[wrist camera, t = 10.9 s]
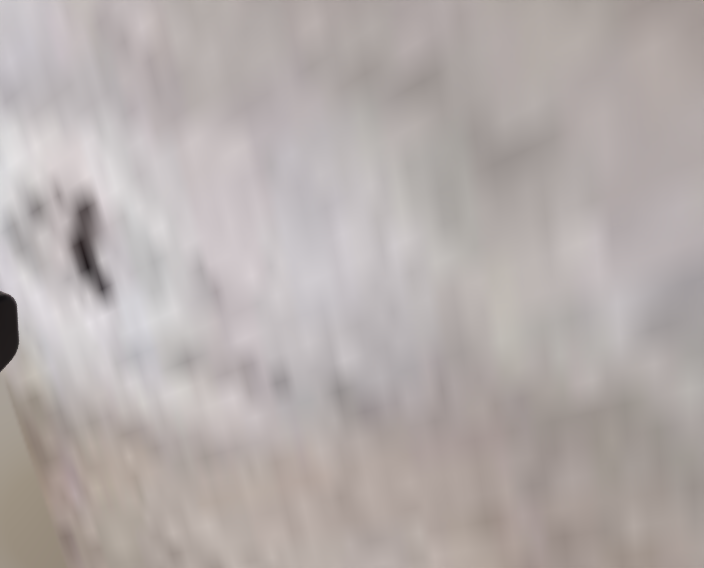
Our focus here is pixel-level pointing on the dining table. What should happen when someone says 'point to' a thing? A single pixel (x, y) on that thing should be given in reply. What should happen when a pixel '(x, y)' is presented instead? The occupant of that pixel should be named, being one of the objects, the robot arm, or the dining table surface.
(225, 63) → the dining table surface
